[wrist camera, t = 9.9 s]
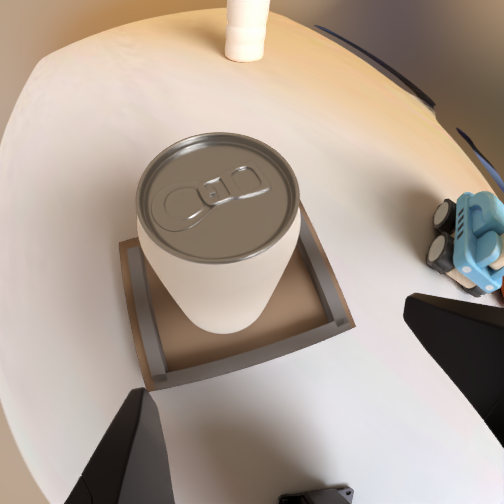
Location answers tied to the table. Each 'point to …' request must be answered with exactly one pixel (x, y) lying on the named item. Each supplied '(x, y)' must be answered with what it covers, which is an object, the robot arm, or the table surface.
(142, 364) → the dock
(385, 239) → the table surface
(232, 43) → the water bottle
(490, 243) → the toy excavator
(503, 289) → the fruit
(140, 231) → the can
